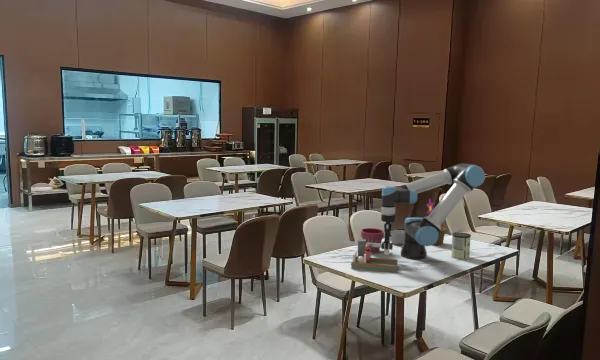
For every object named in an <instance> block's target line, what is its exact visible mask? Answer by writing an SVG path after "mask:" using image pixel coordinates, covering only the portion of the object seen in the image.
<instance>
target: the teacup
mask: <svg viewBox="0 0 600 360" xmlns="http://www.w3.org/2000/svg"><path fill="white" fill-rule="evenodd" d="M390 233H391V234H390V235H392V236H391V237H390V243H393V245H403V244H404V230H401V229H400V230H399V229H398V230H397V229H394V230H391V232H390Z"/></svg>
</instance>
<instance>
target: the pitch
mask: <svg viewBox="0 0 600 360" xmlns="http://www.w3.org/2000/svg"><path fill="white" fill-rule="evenodd" d="M357 242H358V246H357V249H354V250H353V251H354V252H353V253H352V261H351V262H350V263H351V265H350V267H351V268H350V269H351V270H354V269H355V270H361V269H362V271H363V270H364V271H375V272H384V273H385V272H386V273H387V272H388V273H397V272H398V271H397V270H398V259H396V258H395V259H394V258H382V257H371V260H370V263H366V254H364V251H365V243H366V239H362V238H361V239H360V238H358V241H357ZM359 256H362V257H363V258H364V262H363V263H360V262H357V258H358V257H359Z"/></svg>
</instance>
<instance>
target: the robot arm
mask: <svg viewBox="0 0 600 360" xmlns="http://www.w3.org/2000/svg"><path fill="white" fill-rule="evenodd" d="M485 177H486V175H485V171H484V170H483V168H482V167H481V166H478V165H476V164H470V163H459V164H455V165H452V166H450V167H448V168H444V169H443V170H442V171H440V172H437V173H434V174H432V175H429V176H426V177H423V178H420V179H417V180H414V181H410V182H409V183H405V184H402V185H393V186H392V185H391V186H390V185H386V186H383V187H382V189H381V207H379V208H380V210H381V212H380V213H381V214H380V215H381V216H380V221H381V222H384V223H383V228H384V229H383V231H384V241H383V240H382V242H383V243H384V249H383V255H386V256H390V249H389V243H391V241H390V237H391V236H392V235H390V234H391V233H390V232H391V231H392V223H394V222H395V221H396V204H416V203H417V201H418V194H420V193H424V192H426V191H430V190H432V189H436V188H438V187H441V186H445V185H447V184H448V185H452V186H451V187H449V190H447V192H446V193H445V194H444V195H443V197H442V198H441V199H440V201H439V202H438V203H437V205H436V206H435V207H433V211H431V213H429V214H428V216H424V217H406V218H405V219H404V230H403V231H404V243H403V244H402V247H401V249H400V256H401V257H403V258H407V259H412V260H423V259H426V258H427V255H428V253H427V249H426V247H430V246H434V245H433V244H434V243H436V241H437V240H438V233H439V232H440V231H441V227H442V225H443V224H444V222H445V221H446V220H447V218H448V217H449V216H450V215H451V213H452V212H453V211H454V210H455V208H456V207H457V206H458V205H459V203H460V202H461V201H462V200H463V198H464V197H465V196H466V195H467V193H472V192H473V191H474V189H475V188H478V187H480V186H481V185H482V184H484V182H485V179H486V178H485Z"/></svg>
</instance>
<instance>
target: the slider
mask: <svg viewBox="0 0 600 360" xmlns="http://www.w3.org/2000/svg"><path fill="white" fill-rule="evenodd" d="M342 244H343V246H344V245H345V246H354V247H355V246H356V247H358V241H351V240H349V241H348V240H343V243H342ZM393 245H394V244H393V243H392V242H390V243H389V251H390V250H393V247H394V246H393ZM370 247H380V250H384V243H383V241H382V242H381V244H380V243H365V251H364V254H366V263H370V260H371V258H372V257H371V256H372V255H371V254H372V253H371V249H370Z"/></svg>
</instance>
